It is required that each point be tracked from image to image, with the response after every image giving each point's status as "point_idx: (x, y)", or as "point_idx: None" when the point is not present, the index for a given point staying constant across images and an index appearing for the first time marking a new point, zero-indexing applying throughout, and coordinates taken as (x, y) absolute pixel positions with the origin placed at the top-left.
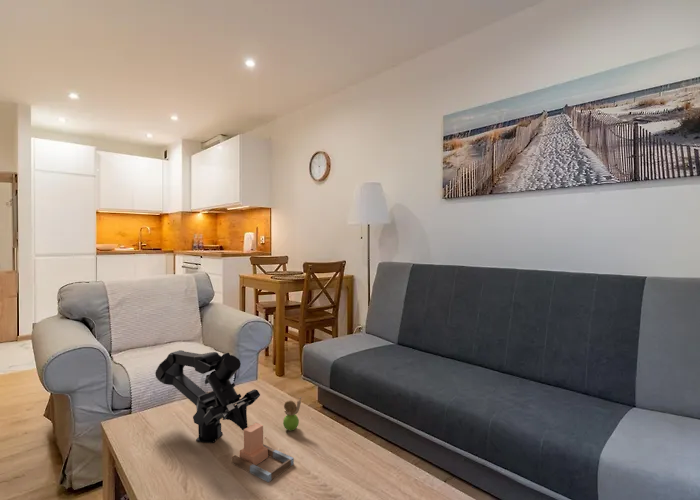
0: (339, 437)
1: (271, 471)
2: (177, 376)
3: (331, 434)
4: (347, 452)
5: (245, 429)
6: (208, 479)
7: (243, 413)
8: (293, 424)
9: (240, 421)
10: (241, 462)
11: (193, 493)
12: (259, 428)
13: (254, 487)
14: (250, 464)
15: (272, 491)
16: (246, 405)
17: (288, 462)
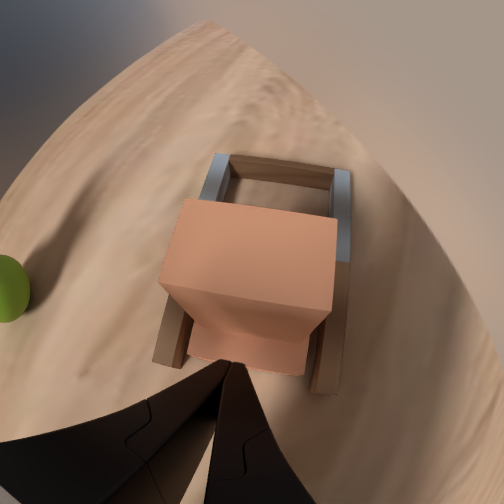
0: (60, 150)
1: (326, 172)
2: None
3: (46, 172)
4: (124, 106)
5: (324, 292)
6: (444, 385)
7: (159, 441)
8: (16, 263)
9: (263, 421)
10: (344, 321)
11: (496, 359)
12: (228, 208)
13: (386, 211)
14: (339, 267)
15: (364, 160)
16: (11, 443)
17: (243, 158)
